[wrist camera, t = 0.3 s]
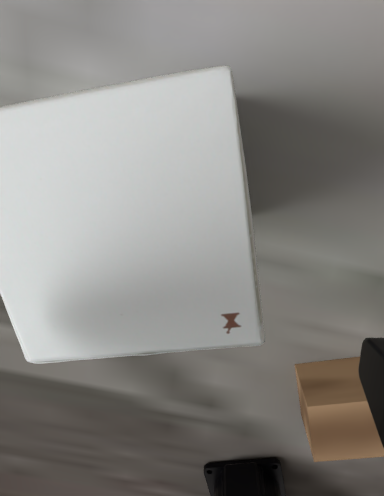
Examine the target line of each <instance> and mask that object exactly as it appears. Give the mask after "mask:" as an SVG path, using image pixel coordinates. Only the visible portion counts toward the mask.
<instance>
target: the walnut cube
mask: <svg viewBox="0 0 384 496" xmlns="http://www.w3.org/2000/svg"><path fill="white" fill-rule="evenodd" d="M359 361H360V357H353V358H344V359H336V360H327V361H319V362H310V363H302V364H295V370H296V378H297V385H298V393H299V401H300V408H301V415H302V419H303V423H304V426H305V430H306V434H307V437H308V441H309V445H310V448H311V452H312V456H313V459H314V462H319V461H333V460H346V459H359V458H372V457H384V448H383V445H382V443H381V440H380V437H379V434H378V431H377V429H376V426H375V423H374V420H373V417H372V414H371V411H370V408H369V405H368V402H367V399H366V396H365V393H364V390H363V387H362V384H361V381H360V378H359V372H358V368H359Z"/></svg>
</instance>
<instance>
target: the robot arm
mask: <svg viewBox="0 0 384 496" xmlns="http://www.w3.org/2000/svg"><path fill="white" fill-rule="evenodd" d="M358 372H359V378H360V381H361V384H362V387H363V390H364V393H365V396H366V399H367V402H368V405H369V408H370V411H371V414H372V417H373V420H374V423H375V426H376V429H377V431H378V434H379V437H380V440H381V443H382V445H383V448H384V338H366V339H365V340H364V341H363V343H362V349H361V355H360V361H359V368H358ZM204 475H205V478H206V482H207V485H208V489H209V492H210V496H286V493H285V487H284V482H283V476H282V470H281V464H280V461H279V460H278V459H276V458H272V459H259V460H246V461H234V462H221V463H209V464H206V465H205V466H204Z"/></svg>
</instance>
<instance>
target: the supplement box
mask: <svg viewBox="0 0 384 496" xmlns="http://www.w3.org/2000/svg"><path fill="white" fill-rule="evenodd" d="M0 294H1V296H2V299H3V301H4V304H5V307H6V309H7V312H8V315H9V317H10V320H11V322H12V325H13V328H14V330H15V333H16V335H17V338H18V340H19V343H20V345H21V348H22V351H23V353H24V356H25V359H26V360H27V361H28V362H31V363H37V364H42V363H52V362H63V361H71V360H85V359H98V358H109V357H121V356H134V355H141V356H142V355H152V354H159V353H169V352H181V351H192V350H204V349H218V348H230V347H242V346H260V345H262V344H263V343H264V342H265V336H264V325H263V315H262V305H261V295H260V285H259V275H258V266H257V256H256V246H255V237H254V227H253V219H252V211H251V204H250V196H249V188H248V180H247V172H246V164H245V157H244V150H243V143H242V136H241V130H240V123H239V116H238V109H237V102H236V94H235V87H234V80H233V75H232V70H231V68H230V67H229V66H217V67H209V68H203V69H196V70H190V71H184V72H179V73H173V74H168V75H162V76H157V77H151V78H146V79H140V80H135V81H129V82H124V83H119V84H113V85H108V86H102V87H97V88H92V89H87V90H82V91H77V92H72V93H67V94H62V95H57V96H52V97H47V98H42V99H37V100H32V101H27V102H22V103H17V104H12V105H7V106H2V107H0Z"/></svg>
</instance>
